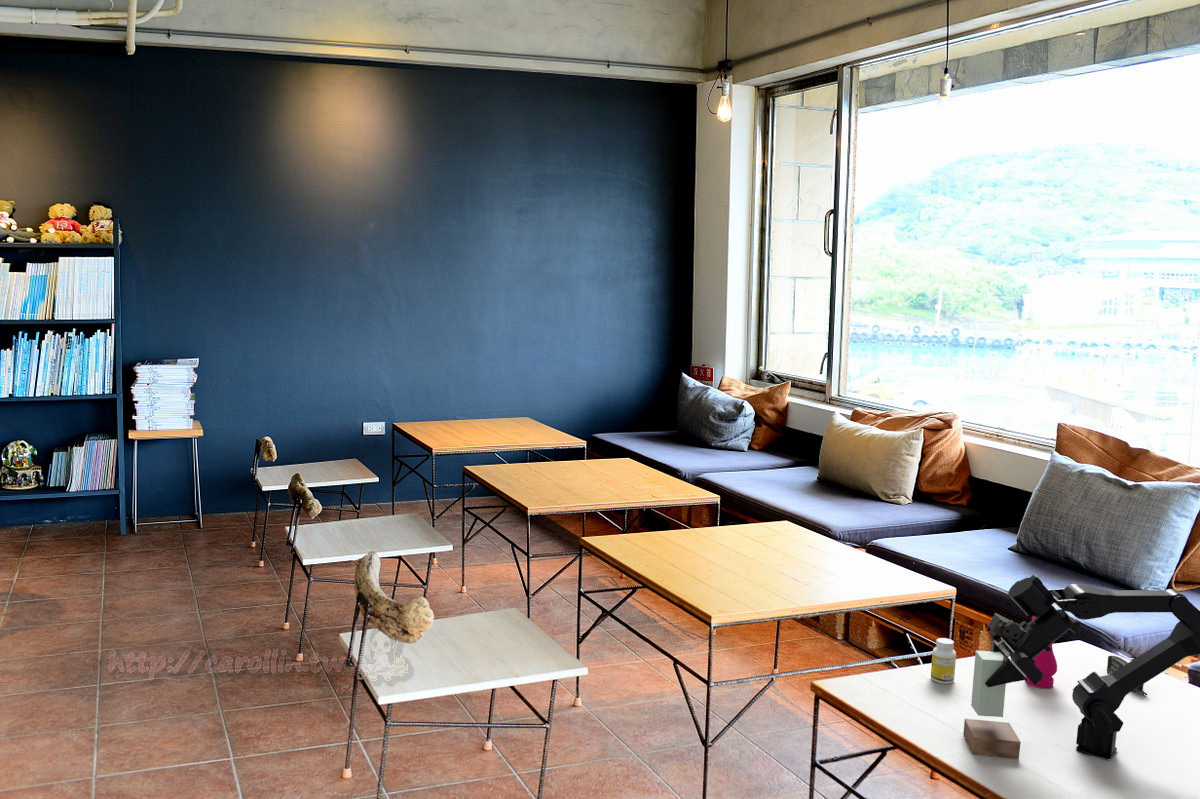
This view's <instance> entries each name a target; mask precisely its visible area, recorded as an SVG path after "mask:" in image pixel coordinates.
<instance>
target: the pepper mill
mask: <svg viewBox="0 0 1200 799" xmlns="http://www.w3.org/2000/svg"><path fill="white" fill-rule="evenodd" d="M1035 618H1036V617H1035V616H1031V621H1032V620H1033V619H1035ZM1032 622H1033V621H1032ZM1033 623H1034V622H1033ZM1049 647H1050V648H1051V650H1050V651H1049V652H1047V651H1046V650H1043V651H1042V652H1041V653H1040V654H1039V655H1037V656H1036V657H1035V658H1034V659H1033V660H1034V661H1035V663H1034V664H1035V665H1036V666H1037V667H1038V668H1039V670H1040V671H1041V672H1042V673H1043V678H1042V680H1041V681H1040V682H1039V683H1037V684H1036V685H1034V684H1033V683H1032V682H1031V680H1030V679H1029V678H1028V677H1027V676H1026V679H1027V681H1025V680H1024V682H1025V683H1026V684H1027V685H1029V686H1030V687H1034V688H1038V689H1044V690H1045V689H1052V688H1054V684H1055V683H1054V682H1055V681H1054V680H1055V679H1054V677H1053V676H1055V675H1056V673H1057V672H1058V664H1057V659H1056V656H1055V653H1054V649H1053V643H1052V644H1051V645H1050V646H1049Z"/></svg>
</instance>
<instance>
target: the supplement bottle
mask: <svg viewBox="0 0 1200 799" xmlns="http://www.w3.org/2000/svg"><path fill="white" fill-rule="evenodd" d="M935 641H936V642H935V647H934V648H933V650H932V654H931V655H932V656H931V668H930V679H931V680H932V682H936V683H938V684H944V685H948V684H949V685H950V684H952V683H955V682H954V681H955V674H956V665H957V664H956V662H957V653H956V652H957V651H955V649H954V647H955V645H954V644H955V642H954V640H952V639H950V638H946V637H939V638H937V639H936V640H935Z"/></svg>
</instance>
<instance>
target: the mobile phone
mask: <svg viewBox="0 0 1200 799" xmlns="http://www.w3.org/2000/svg"><path fill="white" fill-rule="evenodd" d="M1127 663H1128V661H1126V660H1125V659H1123V658H1122V657H1119V656H1116V655H1108V656H1107V666H1106V672H1107V674H1109V673H1110V674H1112V673H1113V672H1115V671H1116V670H1118V669H1119V668H1121V667H1123V666H1124V665H1126V664H1127ZM1110 674H1109V675H1110ZM1144 685H1145V683H1144V684H1143V685H1141V686H1140V687H1138V688H1136V689H1135V690H1133V691H1134V692H1139V691H1140V692H1142V693H1143V694H1145V695H1147V696H1148V693H1147V692H1145V691H1144ZM1140 692H1139V693H1140ZM1142 693H1141V694H1142ZM1143 694H1142V695H1143ZM1145 695H1144V696H1145Z"/></svg>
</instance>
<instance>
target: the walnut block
mask: <svg viewBox="0 0 1200 799" xmlns="http://www.w3.org/2000/svg"><path fill="white" fill-rule="evenodd" d="M963 735H964V736H963ZM962 736H963V738H964V737H965V738H964V739H965V742H966V743H967V746H968V747H969V750H970V752H971V754H972V755H973V756H982V757H983V756H984V757H994V758H1004V759H1012V760H1013V759H1015V760H1019V759H1020V750H1021V740H1020V738H1019V737H1018V735H1017V734H1016V732H1015V730H1014V728H1013V726H1012V725H1011V723H1010V722H1006V721H995V720H984V719H974V718H973V719H972V718H964V722H963V733H962Z"/></svg>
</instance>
